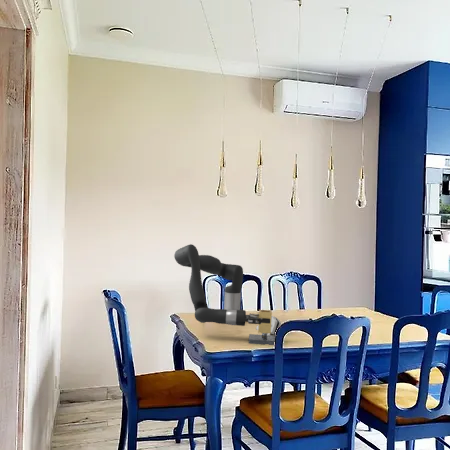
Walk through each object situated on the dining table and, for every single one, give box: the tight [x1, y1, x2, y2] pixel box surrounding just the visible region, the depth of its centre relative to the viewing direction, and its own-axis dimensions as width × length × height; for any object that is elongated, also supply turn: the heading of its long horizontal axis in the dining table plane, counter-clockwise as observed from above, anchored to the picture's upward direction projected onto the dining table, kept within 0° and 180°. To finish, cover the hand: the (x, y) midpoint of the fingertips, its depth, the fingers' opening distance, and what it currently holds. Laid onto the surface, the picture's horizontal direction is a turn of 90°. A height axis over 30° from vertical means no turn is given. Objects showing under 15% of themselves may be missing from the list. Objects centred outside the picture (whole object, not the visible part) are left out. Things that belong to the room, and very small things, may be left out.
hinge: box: [255, 315, 282, 336], centre depth 253 cm, size 17×5×10 cm, turn 22°
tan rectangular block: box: [257, 309, 273, 335], centre depth 231 cm, size 6×6×10 cm
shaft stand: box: [248, 333, 276, 346], centre depth 231 cm, size 11×15×7 cm
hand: (270, 319), depth 231 cm, fingers closed on tan rectangular block, 6 cm apart
